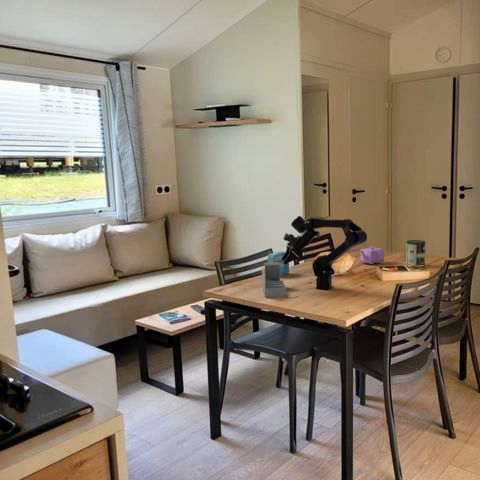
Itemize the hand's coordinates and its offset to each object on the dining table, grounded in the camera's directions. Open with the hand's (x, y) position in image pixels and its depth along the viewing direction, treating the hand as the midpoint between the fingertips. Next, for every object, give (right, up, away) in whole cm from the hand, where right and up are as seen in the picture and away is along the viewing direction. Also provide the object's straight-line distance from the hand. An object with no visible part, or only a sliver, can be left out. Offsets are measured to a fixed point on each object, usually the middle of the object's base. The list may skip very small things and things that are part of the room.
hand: (282, 261), depth 252 cm
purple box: (+56, -3, +51) cm, 75 cm away
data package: (0, -8, +29) cm, 31 cm away
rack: (-5, -14, -10) cm, 18 cm away
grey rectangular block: (-5, -12, +2) cm, 13 cm away
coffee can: (+78, -4, +40) cm, 88 cm away
